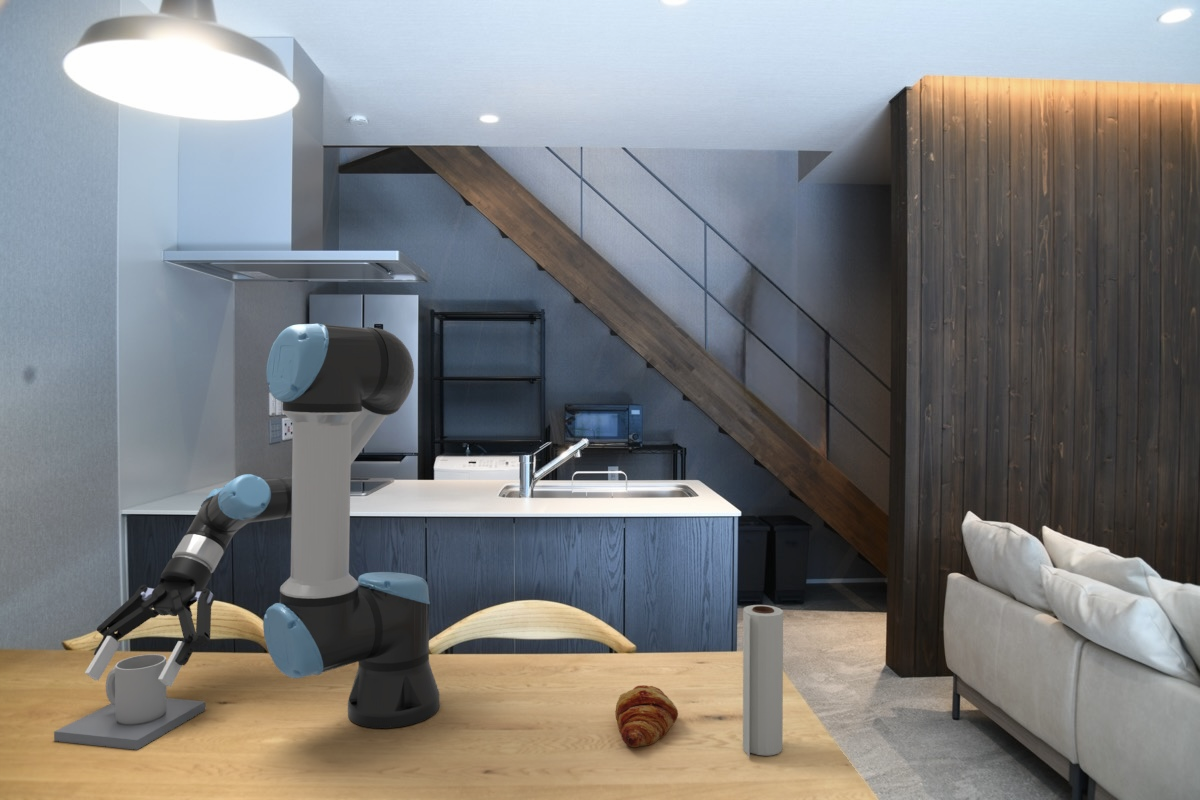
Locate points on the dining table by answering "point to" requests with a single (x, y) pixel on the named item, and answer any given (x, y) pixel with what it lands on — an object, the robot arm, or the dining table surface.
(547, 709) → the dining table surface
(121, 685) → the cup
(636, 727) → the croissant
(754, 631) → the paper towel roll
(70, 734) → the slate tile
